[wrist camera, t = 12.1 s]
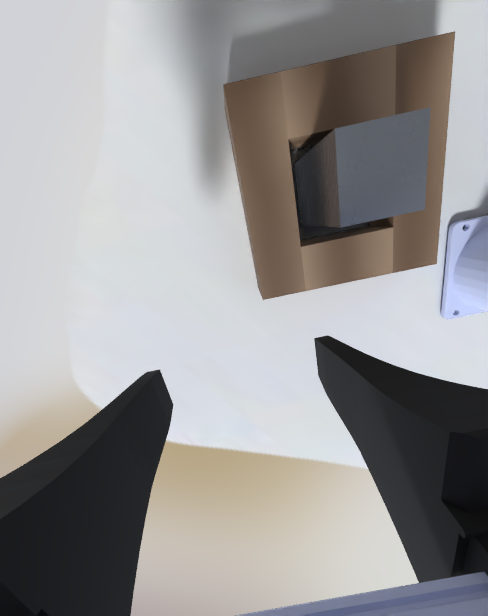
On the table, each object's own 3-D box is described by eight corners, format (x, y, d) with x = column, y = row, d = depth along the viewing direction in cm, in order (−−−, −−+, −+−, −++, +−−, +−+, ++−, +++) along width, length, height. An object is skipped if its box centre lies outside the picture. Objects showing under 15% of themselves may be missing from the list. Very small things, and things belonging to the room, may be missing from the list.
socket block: (413, 66, 15) (455, 31, 12) (406, 257, 19) (436, 263, 16) (224, 109, 15) (223, 84, 13) (258, 288, 20) (263, 299, 17)
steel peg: (351, 151, 17) (430, 107, 10) (354, 213, 18) (424, 209, 11) (294, 164, 17) (335, 128, 10) (301, 224, 18) (340, 227, 11)
